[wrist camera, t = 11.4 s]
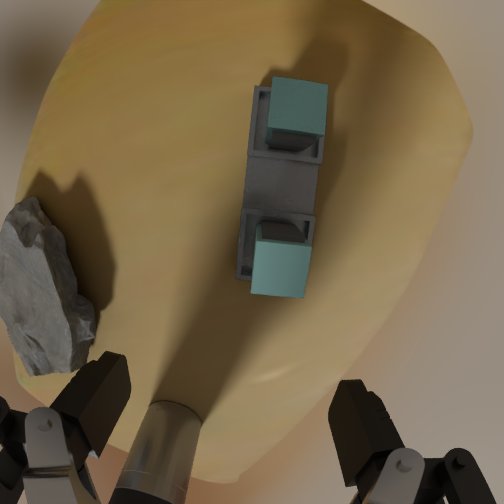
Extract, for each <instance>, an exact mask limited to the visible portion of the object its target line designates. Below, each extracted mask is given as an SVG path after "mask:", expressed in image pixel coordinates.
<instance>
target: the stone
mask: <svg viewBox="0 0 504 504" xmlns="http://www.w3.org/2000/svg"><path fill="white" fill-rule="evenodd" d="M66 248H67V247H66V242H65V237H64V235H63V233H62V232H60V231H59V230H58V229H57V228H56V227H55V225H53V226H52V224H51V222H50V220H49V218H48V217H47V216H46V214H45V213H44V212H43V211H42V210H41V208H40V204H39V201H38V200H37V198H36V197H29V198H27V199H24V200H22V201H21V202H19V203H17V204H16V205H15V207H14V208H13V209H12V210H11V211H10V212H9V213H8V215H7V217H6V219H5V221H4V223H3V226H2V230H1V232H0V316H1V318H2V319H3V320H4V322H5V324H6V326H7V330H8V334H9V337H10V340H11V342H12V344H13V347H14V349H15V351H16V353H17V354H18V355H19V357H20V358H21V360H22V362H23V365H24V367H25V369H26V371H27V373H28V375H29V376H30V377H31V376H38V375H46V374H50V373H57V372H60V373H72V372H74V371H76V370H78V369H80V368H81V367H82V366H83V365H85V364H86V363H87V357H88V354H89V347H90V344H91V341H92V339H93V338H95V336H96V329H97V326H96V320H95V311H94V307H93V305H92V303H91V302H90V301H89V300H87V299H86V298H85V297H84V296H82V295H79V294H77V278H76V276H75V275H74V271H73V269H72V266H71V263H70V260H69V258H68V256H67V252H66Z"/></svg>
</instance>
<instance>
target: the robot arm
mask: <svg viewBox="0 0 504 504" xmlns="http://www.w3.org/2000/svg"><path fill="white" fill-rule="evenodd" d="M130 394H131V382H130V376H129V371H128V365H127V360H126V357H125V356H124V355H121V354H117V353H113V352H109V351H105V352H104V353H103V354H102V356H101V357H100V358H99V359H98V361H95V360H92V361H90V362H89V363H87V364H85V365H83V366H82V367H81V368H80V370H79V371H78V372H77V373H76V376H74V377H73V378H72V379H71V381H70V383H68V384H67V385H66V387H65V388H64V389H63V390H62V392H61V393H60V394H59V395H58V397H57V398H56V399H55V401H54V402H53V403H52V404H51V406H50V407H49V408H48V407H38V408H35V409H33V410H32V411H30V412H29V413H25V412H20V411H16V410H12V409H10V407H9V405H8V403H7V402H6V400H5V399H4V398H2V397H1V396H0V444H1V446H2V447H3V449H2V450H1V452H0V504H17V502H18V500H19V498H20V496H21V494H22V491H23V490H24V489H25V494H26V498H27V503H28V504H101V502H100V500H99V497H98V495H97V492H96V490H95V487H94V484H93V482H92V479H91V476H90V473H89V470H88V467H87V464H86V462H85V460H86V458H87V457H88V455H91V456H93V457H95V458H98V459H99V457H100V455H101V453H102V451H103V449H104V447H105V445H106V443H107V441H108V439H109V437H110V435H111V433H112V431H113V429H114V427H115V425H116V423H117V421H118V419H119V417H120V415H121V413H122V412H123V410H124V408H125V406H126V404H127V402H128V400H129V398H130ZM328 421H329V424H330V429H331V432H332V436H333V440H334V443H335V447H336V451H337V455H338V459H339V462H340V466H341V470H342V474H343V478H344V482H345V486H346V487H350V486H356V485H357V489H358V492H357V493H356V494H355V496H354V497H353V499H352V501H351V502H350V504H445V502H444V499H443V497H445V496H446V498H447V501H448V503H449V504H496V501H495V499H494V497H493V495H492V493H491V491H490V488H489V486H488V484H487V482H486V480H485V478H484V476H483V474H482V472H481V470H480V468H479V467H478V465H477V463H476V461H475V459H474V457H473V456H472V454H471V453H470V452H469V451H467V450H465V449H462V448H454V449H452V450H450V451H449V452H448V453H447V454H446V455H445V456H444V457H443V458H423V457H422V456H421V455H420V453H418V452H417V451H415V450H413V449H410V448H405V446H404V444H403V442H402V440H401V438H400V436H399V434H398V432H397V430H396V428H395V426H394V424H393V422H392V420H391V419H390V416H389V414H388V412H387V411H386V408H385V406H384V404H383V402H382V400H381V399H380V398H379V397H378V396H377V395H376V394H375V393H374V392H372V391H369V392H367V390H366V387H365V386H364V383H363V382H362V380H360V379H355V380H341V381H340V382H339V385H338V387H337V390H336V392H335V395H334V397H333V400H332V402H331V405H330V407H329V412H328ZM200 429H201V421H200V419H199V417H198V416H197V415H196V414H195V413H194V412H193V411H191V410H190V409H188V408H187V407H185V406H183V405H180V404H177V403H174V402H168V401H159V402H155V403H152V404H151V405H150V406H149V408H148V410H147V412H146V414H145V417H144V419H143V421H142V423H141V426H140V428H139V430H138V433H137V435H136V437H135V440H134V442H133V444H132V447H131V449H130V451H129V454H128V457H127V459H126V461H125V464H124V466H123V468H122V471H121V474H120V476H119V479H118V482H117V484H116V486H115V489H114V491H113V494H112V496H111V499H110V501H109V503H108V504H185V499H186V494H187V489H188V485H189V480H190V475H191V470H192V466H193V461H194V456H195V452H196V447H197V443H198V438H199V434H200Z"/></svg>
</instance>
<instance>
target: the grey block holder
mask: <svg viewBox="0 0 504 504" xmlns="http://www.w3.org/2000/svg"><path fill="white" fill-rule="evenodd" d="M327 95H328V85H326V84H321V83H316V82H310V81H304V80H298V79H291V78H284V77H276V76H273V78H272V85H271V87H266V86H255V87H254V96H253V105H252V114H251V123H250V132H249V141H248V151H247V156H248V158H247V168H246V178H245V188H244V198H243V207H242V210H241V221H240V231H239V242H238V253H237V264H236V276H235V279H237V280H247V281H252V267H253V256H254V247H255V238H256V228H257V224H261V222H262V221H271V222H280V223H289V224H295V225H296V226H297V227H298V228H299V230H300V231H301V232H302V233H303V234H304V236H305V239H306V240H307V241H308V242H309V244H310V245H311V246H312V241H313V234H314V227H315V220H316V216H314V215H313V210H314V202H315V194H316V186H317V177H318V168H319V165H321V164H322V162H323V152H324V141H325V129H326V116H327V101H328V96H327Z"/></svg>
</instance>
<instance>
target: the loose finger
mask: <svg viewBox="0 0 504 504" xmlns="http://www.w3.org/2000/svg"><path fill="white" fill-rule="evenodd" d="M311 252H312V246H311V245H310V244H309V242H308V241H307V240H306V239H305V236H304V234H303V233H302V232H301V231H300V230H299V228H298V227H297V226H296V225H295V224H289V223H280V222H271V221H262V222H261V224H257V228H256V238H255V247H254V256H253V267H252V283H251V294H261V295H271V296H282V297H294V298H304V293H305V287H306V282H307V276H308V270H309V264H310V258H311Z"/></svg>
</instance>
